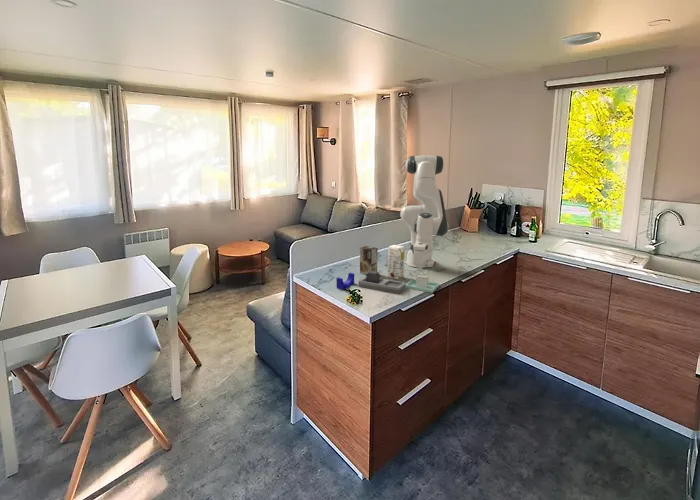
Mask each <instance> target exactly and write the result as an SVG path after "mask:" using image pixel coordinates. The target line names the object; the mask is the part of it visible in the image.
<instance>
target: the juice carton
mask: <svg viewBox="0 0 700 500" xmlns="http://www.w3.org/2000/svg"><path fill="white" fill-rule="evenodd" d="M405 249H406V248H405V246H404V245H399V244H392V245H389V246H388V256H387V257H388V259H387V276H388V278H390V279H393V280H395V281H396V280H397V281H398V280H400V279H402V278H404V275H405V258H406V257H405V254H406V250H405Z"/></svg>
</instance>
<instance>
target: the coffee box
mask: <svg viewBox="0 0 700 500" xmlns="http://www.w3.org/2000/svg"><path fill="white" fill-rule="evenodd" d="M369 271H375V272H378V247H376V246H375V247H374V246H369V245H368V246H367V245H364V246H362V247H359V274H363V275H366V274H367V273H368V272H369Z"/></svg>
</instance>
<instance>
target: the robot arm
mask: <svg viewBox="0 0 700 500" xmlns="http://www.w3.org/2000/svg"><path fill="white" fill-rule="evenodd" d="M444 167H445V161H444V158H443V157H442V156H441V155H432V154H431V155H427V154H425V155H410V156H409V157H407V160H406V161H405V169H406V172H407V173H409V174H411V175H414V176H413V177H414V178H413V192H412V195H413V198H414V199H416V200H418V201H419V202H421V204H422V205H407V206H403V207H402V208H401V210H400V218H401V220H402V221H403V222H404V223H405V224H406V225H407V227H408V228H409V231H410V242H409V243H410V244H409V250H408V251H407V256H406V260H404V264H406V265H408V266H409V267H412V268H417V271H418V272H422V271H423V268H432V267H434V264H435V261H436V259H435V258H434V259H433V258H432V257H433V243H434V237H433V236H437V237H443V236H444V235H446V234H447V233H448V232H449V222H448V219H447V214H446V207H445V202H444V196H443V193H442V190H441V189H440V188H438V186H437V184H436V175H439V174H441V173H442V172H443V170H444Z"/></svg>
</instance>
